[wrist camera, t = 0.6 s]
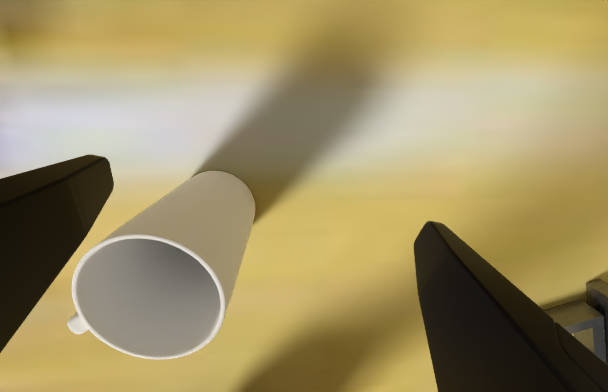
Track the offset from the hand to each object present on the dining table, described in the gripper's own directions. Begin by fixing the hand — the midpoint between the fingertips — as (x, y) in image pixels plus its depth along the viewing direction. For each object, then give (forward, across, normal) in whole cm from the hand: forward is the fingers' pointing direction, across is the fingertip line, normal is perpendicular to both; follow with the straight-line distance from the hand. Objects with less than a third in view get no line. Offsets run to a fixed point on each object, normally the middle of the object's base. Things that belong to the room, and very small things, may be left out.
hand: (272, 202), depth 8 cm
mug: (+12, +6, +12) cm, 18 cm away
